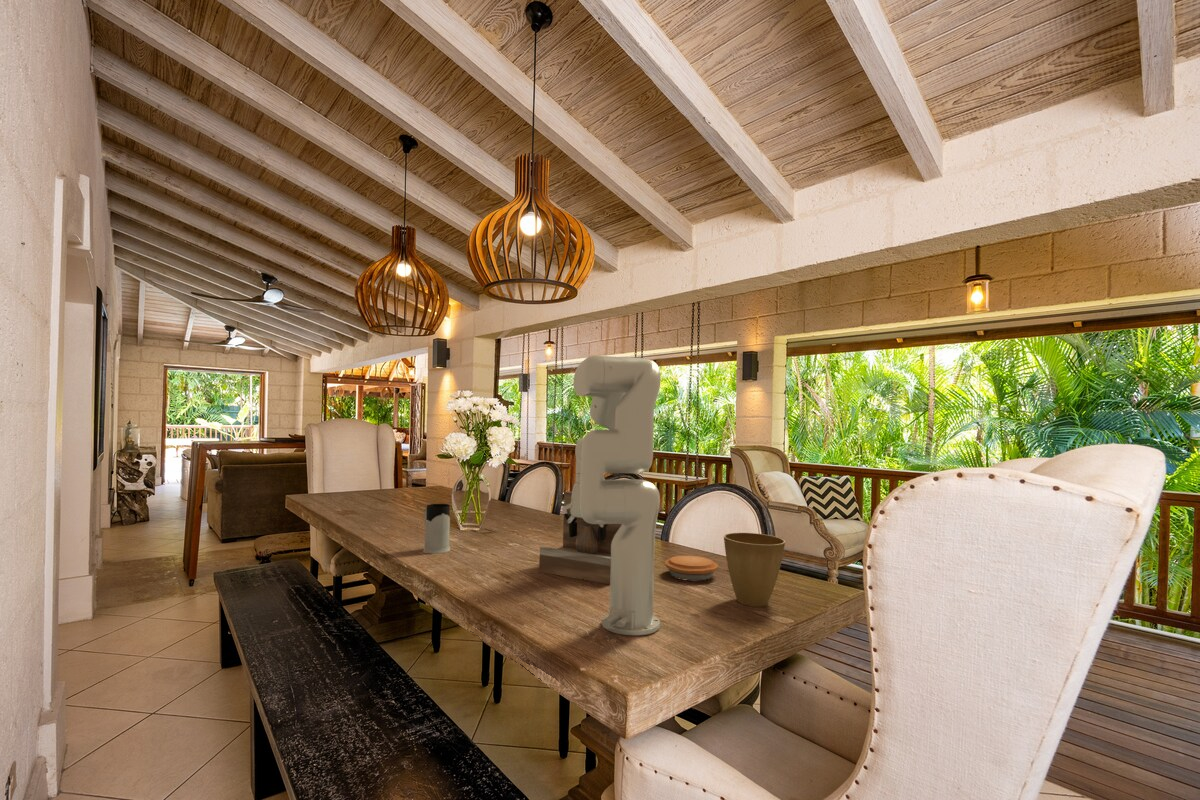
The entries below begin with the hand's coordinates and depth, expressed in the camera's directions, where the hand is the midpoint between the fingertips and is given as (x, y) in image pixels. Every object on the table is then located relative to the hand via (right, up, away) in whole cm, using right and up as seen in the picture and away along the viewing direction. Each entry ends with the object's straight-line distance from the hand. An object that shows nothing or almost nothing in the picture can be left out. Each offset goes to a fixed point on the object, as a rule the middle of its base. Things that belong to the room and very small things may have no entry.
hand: (587, 538), depth 164 cm
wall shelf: (-1, -10, -1) cm, 10 cm away
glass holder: (-53, -10, +25) cm, 59 cm away
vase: (0, -5, 0) cm, 5 cm away
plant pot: (+42, -10, -24) cm, 49 cm away
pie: (+30, -11, -1) cm, 32 cm away
